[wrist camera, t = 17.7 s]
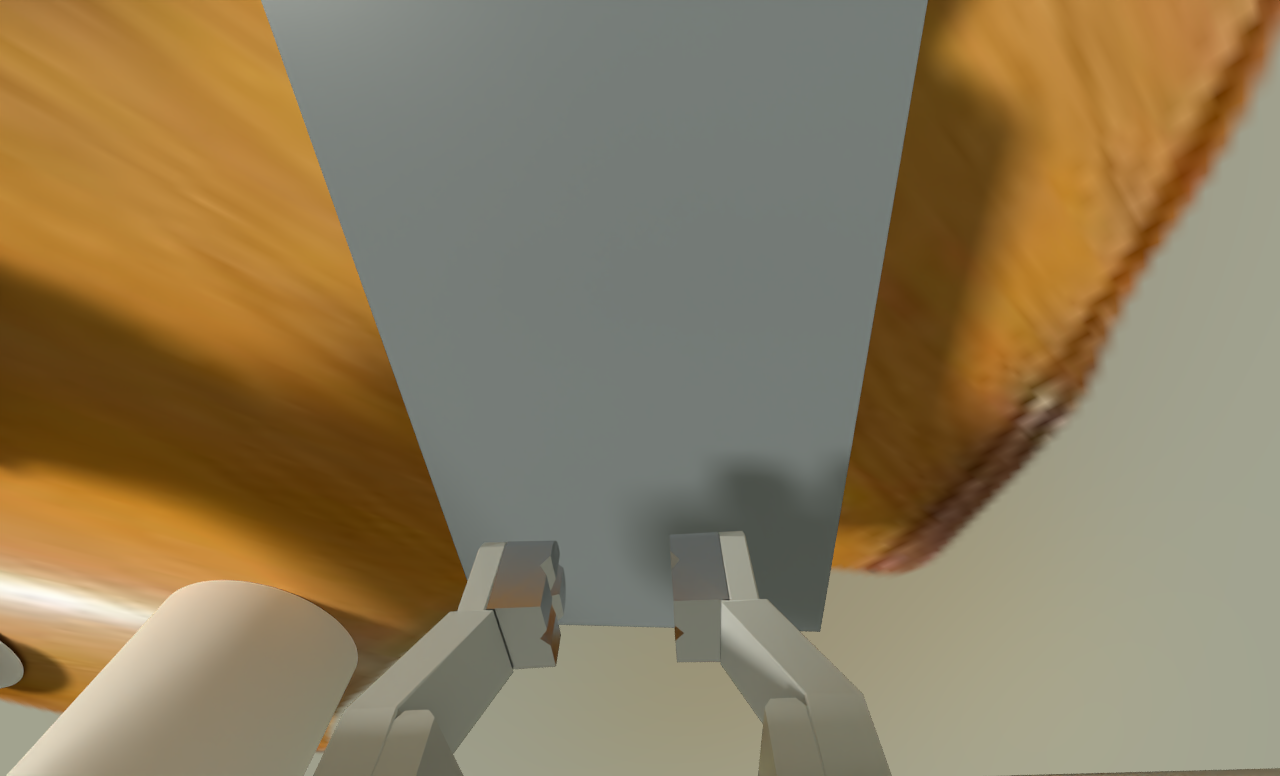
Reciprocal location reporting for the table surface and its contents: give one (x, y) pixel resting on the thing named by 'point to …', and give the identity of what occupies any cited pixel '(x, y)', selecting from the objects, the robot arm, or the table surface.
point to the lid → (620, 263)
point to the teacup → (9, 667)
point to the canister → (207, 691)
